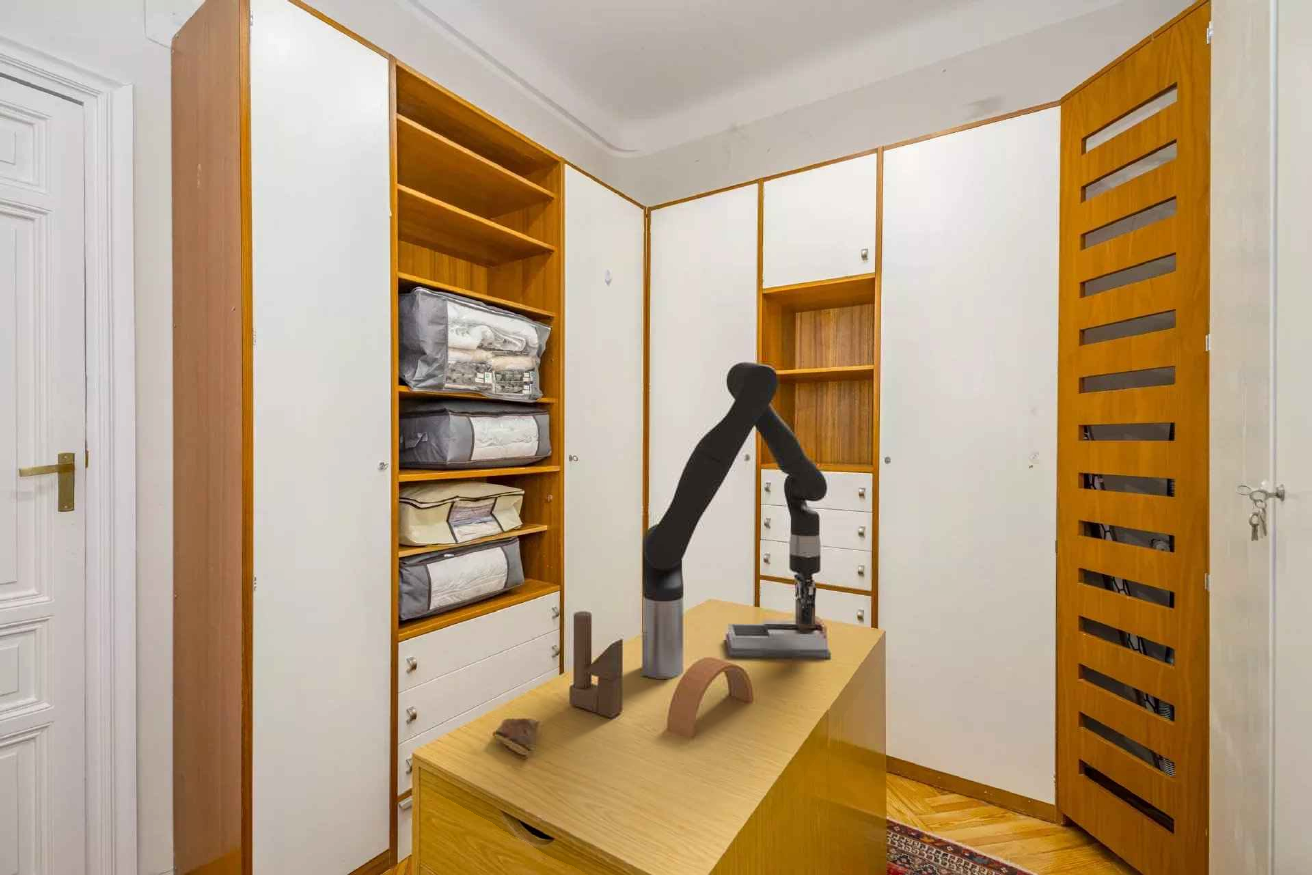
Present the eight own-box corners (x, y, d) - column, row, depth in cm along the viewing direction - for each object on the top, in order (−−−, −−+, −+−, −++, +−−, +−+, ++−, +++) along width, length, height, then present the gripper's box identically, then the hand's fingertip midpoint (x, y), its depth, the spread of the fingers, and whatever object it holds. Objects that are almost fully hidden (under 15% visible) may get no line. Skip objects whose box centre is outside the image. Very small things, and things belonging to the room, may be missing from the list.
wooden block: (611, 719, 109) (611, 624, 109) (568, 704, 115) (568, 614, 115) (623, 711, 112) (623, 618, 112) (580, 697, 118) (580, 609, 118)
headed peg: (795, 645, 142) (795, 604, 142) (790, 636, 148) (790, 597, 148) (820, 645, 142) (820, 605, 142) (814, 637, 148) (814, 598, 148)
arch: (754, 701, 117) (754, 652, 117) (690, 740, 102) (690, 683, 102) (730, 692, 121) (730, 645, 121) (666, 728, 106) (666, 674, 106)
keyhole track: (730, 657, 139) (730, 628, 139) (725, 639, 151) (725, 612, 151) (830, 658, 139) (830, 629, 139) (818, 640, 151) (818, 613, 151)
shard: (530, 759, 95) (530, 748, 95) (483, 761, 94) (482, 750, 94) (540, 727, 106) (540, 717, 106) (498, 728, 105) (498, 718, 105)
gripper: (784, 546, 152) (784, 611, 152) (795, 558, 138) (795, 630, 138) (813, 546, 152) (812, 611, 152) (827, 558, 137) (827, 630, 138)
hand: (804, 620), depth 145 cm, fingers closed on headed peg, 4 cm apart
